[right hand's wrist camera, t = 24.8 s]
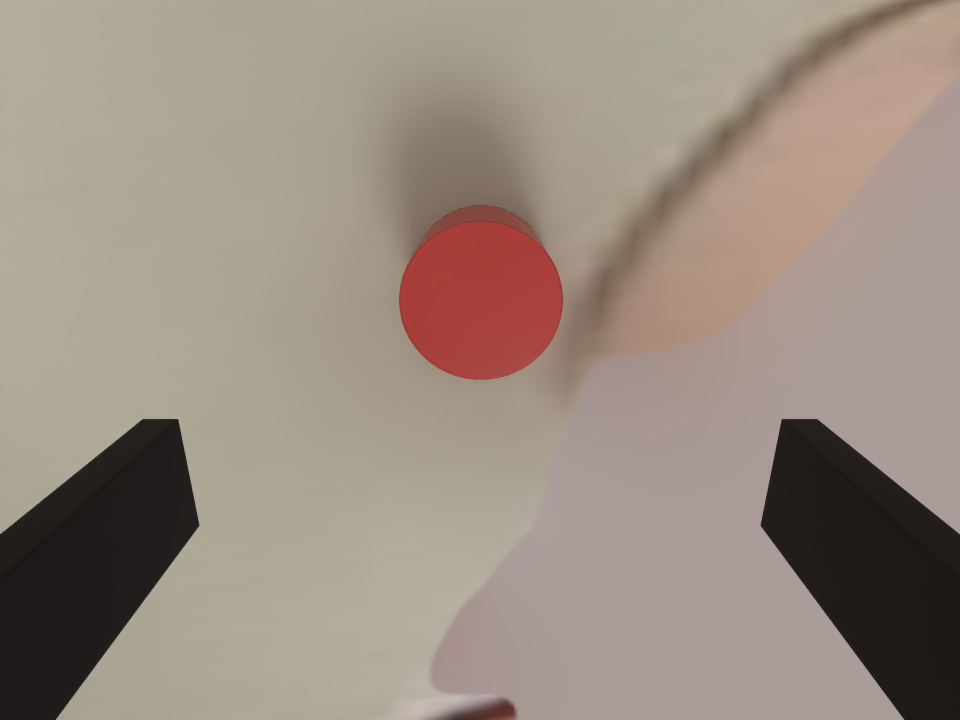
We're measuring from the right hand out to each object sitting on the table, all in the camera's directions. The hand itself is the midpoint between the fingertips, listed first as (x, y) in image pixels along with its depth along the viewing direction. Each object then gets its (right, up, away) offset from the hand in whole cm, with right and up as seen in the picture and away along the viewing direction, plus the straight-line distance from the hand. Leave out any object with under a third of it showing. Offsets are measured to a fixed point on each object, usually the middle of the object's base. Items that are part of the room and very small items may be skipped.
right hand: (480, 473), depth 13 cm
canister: (0, +8, +20) cm, 22 cm away
